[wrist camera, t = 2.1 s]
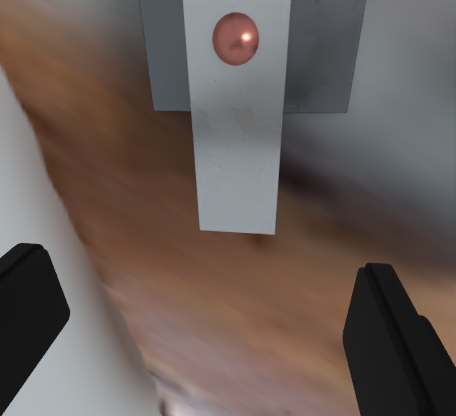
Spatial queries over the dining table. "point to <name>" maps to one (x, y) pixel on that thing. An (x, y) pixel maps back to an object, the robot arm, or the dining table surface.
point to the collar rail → (296, 54)
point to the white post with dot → (237, 109)
